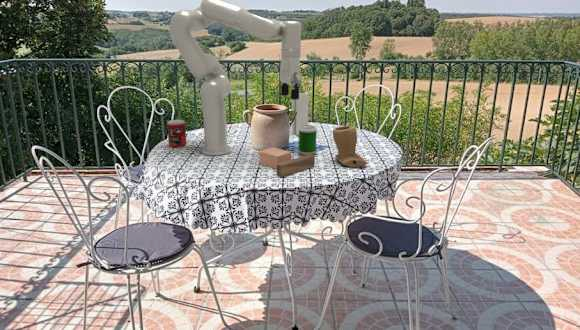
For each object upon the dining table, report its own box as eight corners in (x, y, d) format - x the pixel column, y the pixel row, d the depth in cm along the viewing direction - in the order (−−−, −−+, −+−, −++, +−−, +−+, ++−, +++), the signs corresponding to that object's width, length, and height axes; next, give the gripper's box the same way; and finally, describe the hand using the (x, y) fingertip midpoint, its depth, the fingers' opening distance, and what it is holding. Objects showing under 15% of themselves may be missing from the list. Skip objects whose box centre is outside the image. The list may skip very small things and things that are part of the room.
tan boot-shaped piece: (328, 157, 187) (330, 122, 182) (356, 156, 189) (358, 122, 184) (338, 169, 173) (339, 132, 168) (367, 168, 174) (369, 131, 170)
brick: (259, 164, 179) (259, 151, 177) (273, 159, 184) (273, 147, 183) (277, 169, 172) (277, 156, 171) (291, 165, 178) (291, 152, 176)
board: (276, 175, 166) (276, 164, 164) (308, 164, 178) (308, 154, 177) (282, 177, 164) (282, 166, 162) (314, 166, 176) (314, 155, 175)
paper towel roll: (310, 134, 224) (310, 91, 217) (303, 136, 219) (304, 93, 212) (297, 132, 227) (298, 90, 221) (291, 134, 223) (291, 92, 216)
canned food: (165, 146, 202) (163, 122, 198) (176, 142, 209) (174, 119, 205) (179, 148, 199) (177, 124, 195) (189, 143, 206) (188, 120, 202)
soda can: (314, 156, 188) (315, 129, 184) (297, 155, 190) (297, 128, 186) (317, 151, 195) (317, 125, 191) (300, 150, 197) (300, 124, 193)
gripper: (273, 52, 181) (273, 94, 186) (291, 56, 166) (290, 101, 172) (290, 51, 184) (289, 93, 189) (309, 55, 169) (307, 100, 175)
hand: (289, 97), depth 180 cm, fingers open, 9 cm apart
